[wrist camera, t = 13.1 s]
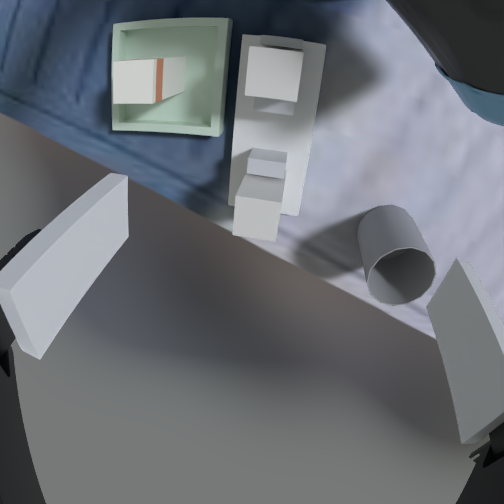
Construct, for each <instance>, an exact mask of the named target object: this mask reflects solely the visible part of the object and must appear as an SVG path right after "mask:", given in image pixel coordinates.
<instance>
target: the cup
mask: <svg viewBox="0 0 504 504" xmlns="http://www.w3.org/2000/svg"><path fill="white" fill-rule="evenodd" d="M357 239H358V244H359V248H360V253H361V258H362V262H363V267H364V272H365V277H366V282H367V285H368V289H369V292H370V295H372V296H373V297H374V298H375V299H376V300H377V301H379V302H380V303H384V304H388V305H392V306H396V305H403V304H409V303H411V302H413V301H415V300H417V299H419V298H421V297H422V296H423V295H424V294H425V293H426V292H427V291H428V290H429V289H430V288H431V286H432V284H433V281H434V279H435V276H436V268H435V261H434V259H433V257H432V255H431V253H430V251H429V249H428V247H427V245H426V243H425V241H424V239H423V237H422V235H421V233H420V231H419V229H418V228H417V226H416V224H415V222H414V220H413V218H412V217H411V216H410V215H409V214H408V213H407V211H406V210H405V209H403V208H400V207H397V206H395V205H384V206H378V207H376V208H375V209H373V210H371V211H369V212H368V213H366V215H365V216H364V217H363V219H362V220H361V221H360V223H359V225H358V231H357Z"/></svg>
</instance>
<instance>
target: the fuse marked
mask: <svg viewBox="0 0 504 504" xmlns="http://www.w3.org/2000/svg"><path fill="white" fill-rule="evenodd" d="M185 69H186V57H148V58H138V59H130V60H121V61H115V62H113V104H153V103H156V102H158V101H161V100H163V99H166V98H168V97H171V96H174V95H176V94H179V93H182V92H184V87H185Z"/></svg>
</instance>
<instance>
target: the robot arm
mask: <svg viewBox="0 0 504 504" xmlns="http://www.w3.org/2000/svg"><path fill="white" fill-rule="evenodd" d="M386 1H387V2H388V3H389V4H390V6H391V7H392V8H393V9H394V10H395V11H396V12H397V14H398V15H399V16H400V17H401V18H402V20H403V21H404V22H405V23H406V24H407V26H408V27H409V28H410V29H411V31H412V32H413V33H414V34H415V36H416V37H417V38H418V40H419V41H420V42H421V44H422V45H423V46H424V48H425V49H426V50H427V52H428V53H429V54H430V56H431V57H432V59H433V60H434V62H435V66H436V68H437V69H438V71H439V72H440V73H441V75H442V76H443V77H444V78H446V79H447V80H448V81H449V82H450V84H451V85H452V86H453V88H454V89H455V91H456V92H457V94H458V95H459V97H460V98H461V100H462V101H463V103H464V104H465V105H466V106H467V107H468V108H469V109H470V110H471V111H472V112H474V113H476V114H477V115H478V116H480V117H481V118H483V119H484V120H486V121H489V122H491V123H494V124H497V125H501V126H504V0H386ZM128 237H129V235H128V176H125V175H120V174H114V173H110V174H109V175H107V176H106V177H105V178H103V179H102V180H101V181H99V182H98V183H97V184H96V185H94V186H93V187H92V188H91V189H89V190H88V191H87V192H86V193H85V194H83V195H82V196H81V197H80V198H78V199H77V200H76V201H75V202H74V203H72V204H71V205H70V206H69V207H68V208H67V209H66V210H64V211H63V212H62V213H61V214H59V215H58V216H57V217H56V218H55V219H54V220H53V221H52V222H50V224H48V225H47V226H46V227H45V228H44V229H43V230H41V229H38V230H36V231H34V232H32V233H30V234H28V235H26V236H25V237H24V238H23V239H22V240H21V241H20V242H18V243H17V244H16V246H15V247H13V248H12V249H11V250H10V251H9V252H8V255H5V256H4V257H3V258H2V259H1V260H0V504H46V503H45V500H44V497H43V494H42V491H41V488H40V485H39V482H38V479H37V476H36V472H35V469H34V465H33V462H32V458H31V454H30V451H29V446H28V442H27V438H26V433H25V429H24V424H23V420H22V414H21V409H20V403H19V396H18V390H17V383H16V375H15V367H14V356H13V350H12V347H11V344H12V342H13V341H14V339H15V338H16V340H17V341H18V344H19V346H20V348H21V350H22V351H24V352H26V353H28V354H30V355H32V356H34V357H36V358H38V359H41V357H42V356H43V354H44V353H45V351H46V350H47V348H48V347H49V345H50V344H51V342H52V341H53V339H54V338H55V336H56V334H57V333H58V332H59V330H60V328H61V327H62V326H63V324H64V323H65V321H66V320H67V318H68V317H69V315H70V314H71V312H72V311H73V310H74V308H75V307H76V305H77V304H78V303H79V301H80V300H81V298H82V297H83V296H84V294H85V293H86V291H87V290H88V289H89V287H90V286H91V285H92V283H93V282H94V281H95V279H96V278H97V277H98V275H99V274H100V273H101V271H102V270H103V269H104V267H105V266H106V265H107V263H108V262H109V261H110V260H111V258H112V257H113V256H114V254H115V253H116V252H117V251H118V249H119V248H120V247H121V246H122V244H123V243H124V242H125V241H126V239H127V238H128ZM427 310H428V313H429V316H430V319H431V323H432V326H433V329H434V332H435V335H436V339H437V342H438V345H439V349H440V352H441V355H442V359H443V363H444V367H445V370H446V374H447V378H448V382H449V386H450V390H451V394H452V399H453V403H454V408H455V412H456V417H457V422H458V427H459V433H460V438H461V443H462V444H466V443H476V442H478V441H480V440H481V439H482V438H484V437H485V436H487V435H488V434H489V436H490V441H489V442H487V443H486V444H484V445H483V446H481V447H480V448H478V449H477V450H475V451H474V452H472V453H471V454H470V456H469V457H470V458H472V457H474V456H475V455H477V454H478V453H479V454H480V456H479V457H477V458H476V459H474V460H473V461H474V462H476V464H475V467H474V469H473V471H472V473H471V475H470V477H469V479H468V481H467V483H466V485H465V487H464V489H463V491H462V493H461V495H460V497H459V499H458V501H457V502H456V504H504V325H503V323H502V321H501V319H500V317H499V314H498V312H497V310H496V308H495V306H494V304H493V303H492V301H491V299H490V297H489V295H488V293H487V291H486V289H485V287H484V286H483V284H482V282H481V280H480V278H479V277H478V275H477V273H476V271H475V270H474V268H473V266H472V264H471V263H470V262H469V261H466V260H463V259H460V258H456V259H455V261H454V263H453V265H452V266H451V268H450V270H449V271H448V273H447V275H446V276H445V278H444V280H443V281H442V283H441V285H440V286H439V288H438V289H437V291H436V293H435V294H434V296H433V297H432V299H431V300H430V302H429V303H428V305H427Z"/></svg>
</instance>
